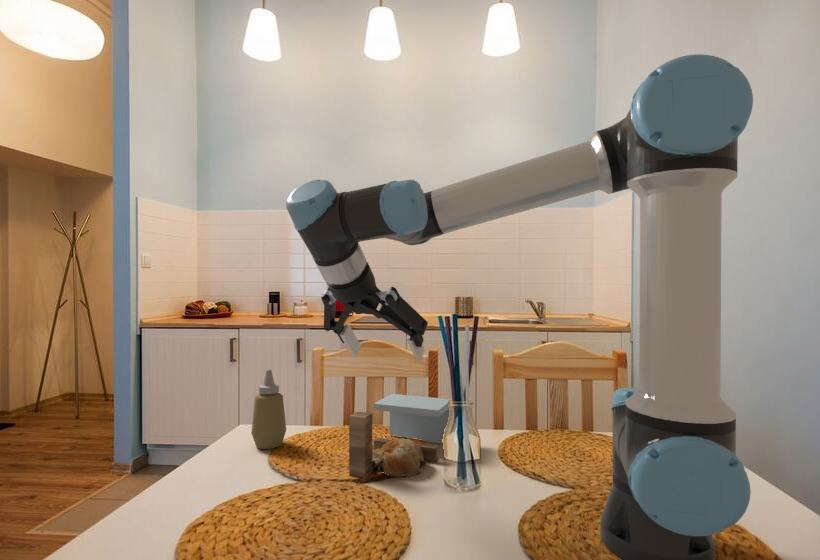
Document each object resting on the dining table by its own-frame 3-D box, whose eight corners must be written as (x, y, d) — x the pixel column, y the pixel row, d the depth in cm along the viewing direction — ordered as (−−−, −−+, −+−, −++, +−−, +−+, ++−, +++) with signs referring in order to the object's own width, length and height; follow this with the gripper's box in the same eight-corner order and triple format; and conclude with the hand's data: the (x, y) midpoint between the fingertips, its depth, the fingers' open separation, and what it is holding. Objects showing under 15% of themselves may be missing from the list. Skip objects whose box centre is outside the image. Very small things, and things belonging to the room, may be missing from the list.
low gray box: (438, 457, 107) (438, 410, 107) (373, 448, 113) (373, 403, 113) (452, 442, 116) (452, 399, 116) (391, 435, 122) (391, 393, 122)
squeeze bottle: (243, 449, 112) (243, 372, 112) (264, 438, 120) (264, 366, 120) (274, 453, 110) (274, 374, 110) (292, 441, 117) (292, 368, 117)
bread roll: (411, 497, 96) (428, 462, 95) (365, 473, 97) (382, 437, 96) (417, 477, 105) (432, 444, 105) (375, 455, 107) (390, 423, 106)
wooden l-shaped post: (415, 486, 92) (415, 423, 92) (347, 475, 97) (347, 415, 97) (438, 460, 105) (438, 405, 105) (377, 451, 111) (377, 399, 111)
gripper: (423, 253, 76) (454, 341, 89) (294, 257, 86) (339, 335, 99) (408, 286, 71) (444, 374, 84) (274, 286, 81) (324, 365, 94)
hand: (387, 353), depth 92 cm, fingers open, 13 cm apart
